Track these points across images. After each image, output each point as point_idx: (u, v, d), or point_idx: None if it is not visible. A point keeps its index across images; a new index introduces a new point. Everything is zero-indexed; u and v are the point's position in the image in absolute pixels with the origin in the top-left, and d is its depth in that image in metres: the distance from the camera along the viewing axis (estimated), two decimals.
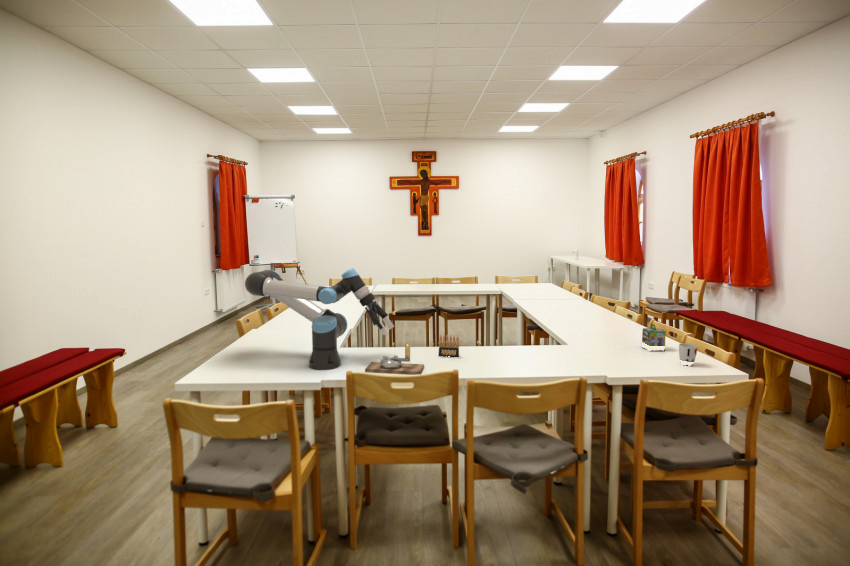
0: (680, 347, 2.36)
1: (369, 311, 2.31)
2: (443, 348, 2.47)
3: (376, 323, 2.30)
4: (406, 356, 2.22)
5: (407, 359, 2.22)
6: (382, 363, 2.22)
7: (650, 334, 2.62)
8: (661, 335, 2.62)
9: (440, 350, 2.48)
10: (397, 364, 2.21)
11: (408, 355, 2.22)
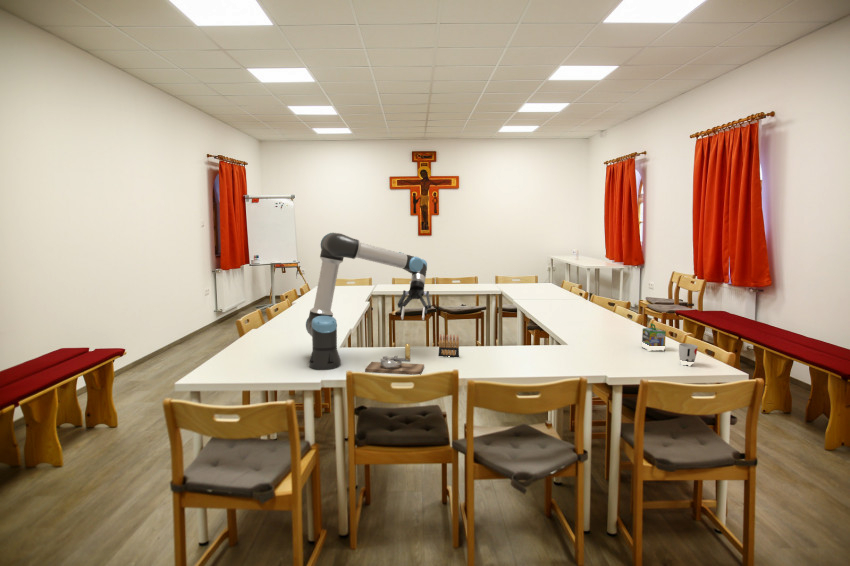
0: (680, 347, 2.36)
1: (428, 296, 2.48)
2: (443, 348, 2.47)
3: (428, 307, 2.43)
4: (406, 356, 2.22)
5: (407, 359, 2.22)
6: (382, 363, 2.22)
7: (650, 334, 2.62)
8: (661, 335, 2.62)
9: (440, 350, 2.48)
10: (397, 364, 2.21)
11: (408, 355, 2.22)
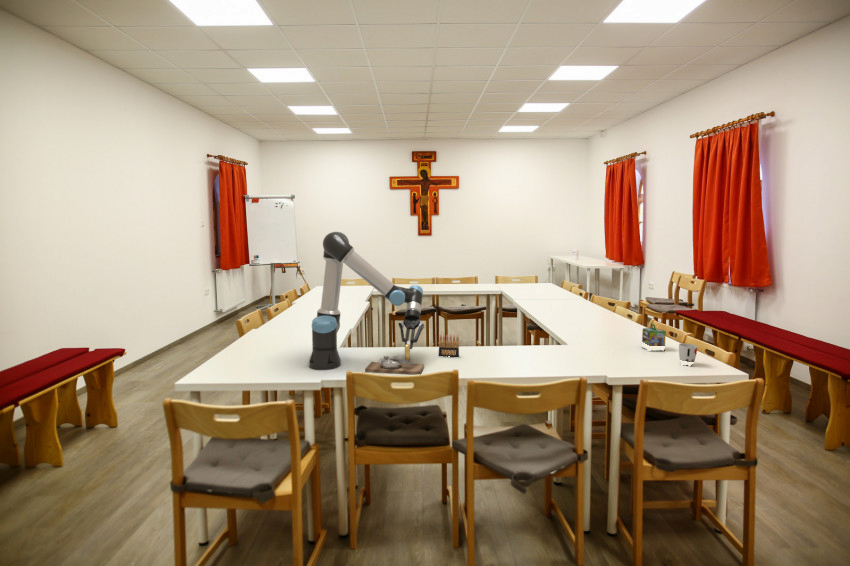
0: (680, 347, 2.36)
1: (421, 329, 2.32)
2: (443, 348, 2.47)
3: (413, 341, 2.29)
4: (405, 356, 2.22)
5: (406, 360, 2.22)
6: (381, 363, 2.22)
7: (650, 334, 2.62)
8: (661, 335, 2.62)
9: (440, 350, 2.48)
10: (396, 364, 2.21)
11: (407, 356, 2.21)
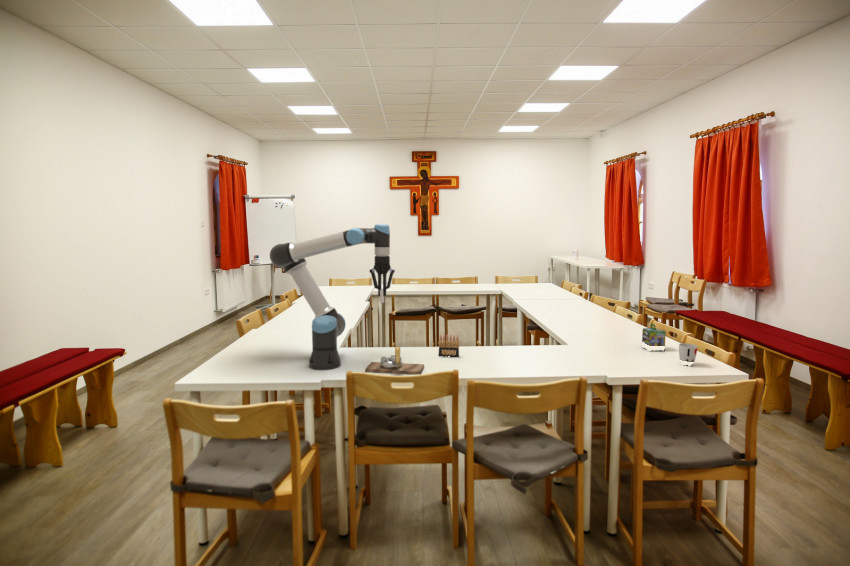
0: (680, 347, 2.36)
1: (392, 275, 2.36)
2: (443, 348, 2.47)
3: None
4: (395, 359, 2.17)
5: (395, 362, 2.17)
6: None
7: (650, 334, 2.62)
8: (661, 335, 2.62)
9: (440, 350, 2.48)
10: (387, 365, 2.20)
11: (396, 358, 2.16)
